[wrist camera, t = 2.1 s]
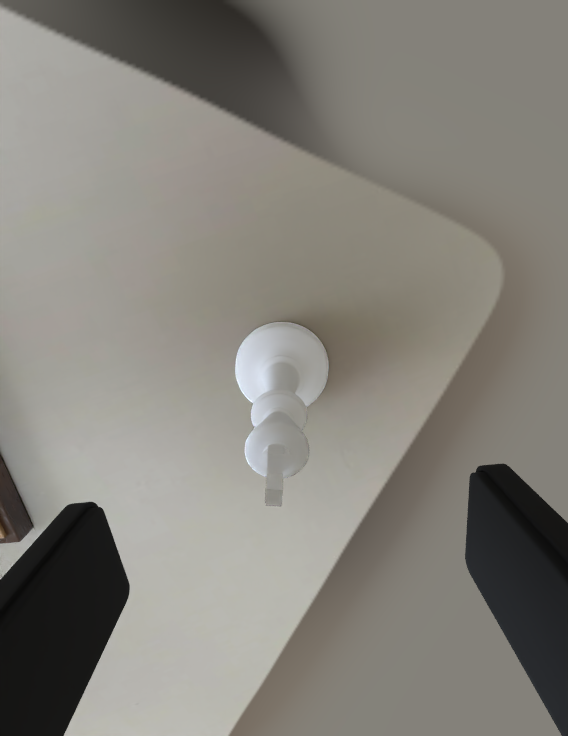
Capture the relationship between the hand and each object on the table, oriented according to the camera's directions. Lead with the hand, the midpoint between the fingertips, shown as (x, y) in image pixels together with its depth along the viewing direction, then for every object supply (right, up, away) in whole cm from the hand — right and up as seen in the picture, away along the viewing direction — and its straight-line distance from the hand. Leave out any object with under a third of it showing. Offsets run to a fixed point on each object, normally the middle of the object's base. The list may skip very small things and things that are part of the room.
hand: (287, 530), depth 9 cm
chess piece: (0, +4, +10) cm, 10 cm away
